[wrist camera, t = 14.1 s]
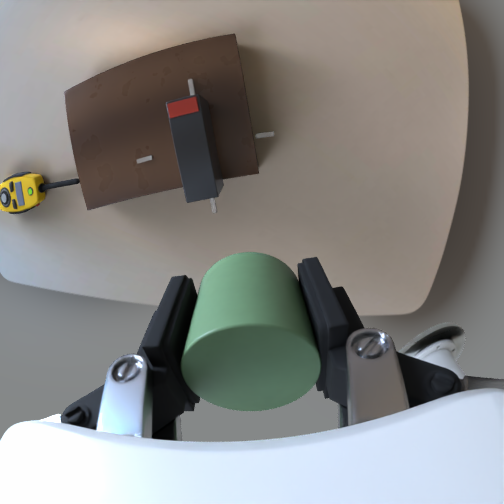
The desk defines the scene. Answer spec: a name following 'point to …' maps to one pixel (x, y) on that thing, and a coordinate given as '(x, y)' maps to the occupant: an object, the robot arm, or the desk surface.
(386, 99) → the desk surface
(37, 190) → the yellow walkie-talkie
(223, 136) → the base
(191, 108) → the block
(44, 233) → the desk surface
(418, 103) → the desk surface
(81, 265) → the desk surface
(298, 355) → the green cylinder
